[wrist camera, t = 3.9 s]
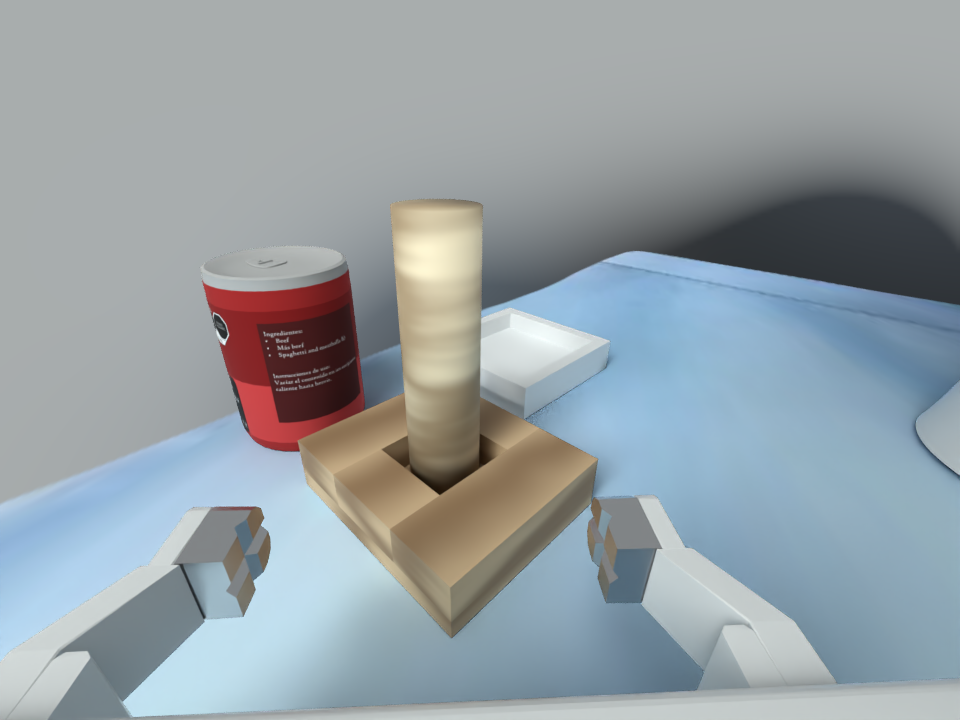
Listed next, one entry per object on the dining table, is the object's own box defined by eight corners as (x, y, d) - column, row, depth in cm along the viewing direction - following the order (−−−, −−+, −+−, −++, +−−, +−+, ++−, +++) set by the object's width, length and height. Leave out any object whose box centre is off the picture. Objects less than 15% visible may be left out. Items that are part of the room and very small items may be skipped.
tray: (606, 367, 37) (610, 340, 36) (523, 419, 30) (525, 388, 29) (508, 330, 44) (509, 307, 43) (423, 366, 37) (421, 339, 36)
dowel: (492, 479, 24) (501, 205, 17) (442, 515, 21) (430, 214, 15) (448, 449, 26) (441, 196, 20) (397, 479, 24) (371, 204, 17)
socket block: (590, 503, 23) (603, 426, 21) (451, 638, 17) (449, 548, 15) (442, 413, 31) (440, 349, 29) (307, 483, 25) (290, 408, 22)
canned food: (286, 385, 34) (255, 242, 29) (383, 396, 33) (368, 248, 28) (216, 446, 27) (161, 273, 22) (335, 462, 26) (304, 283, 21)
